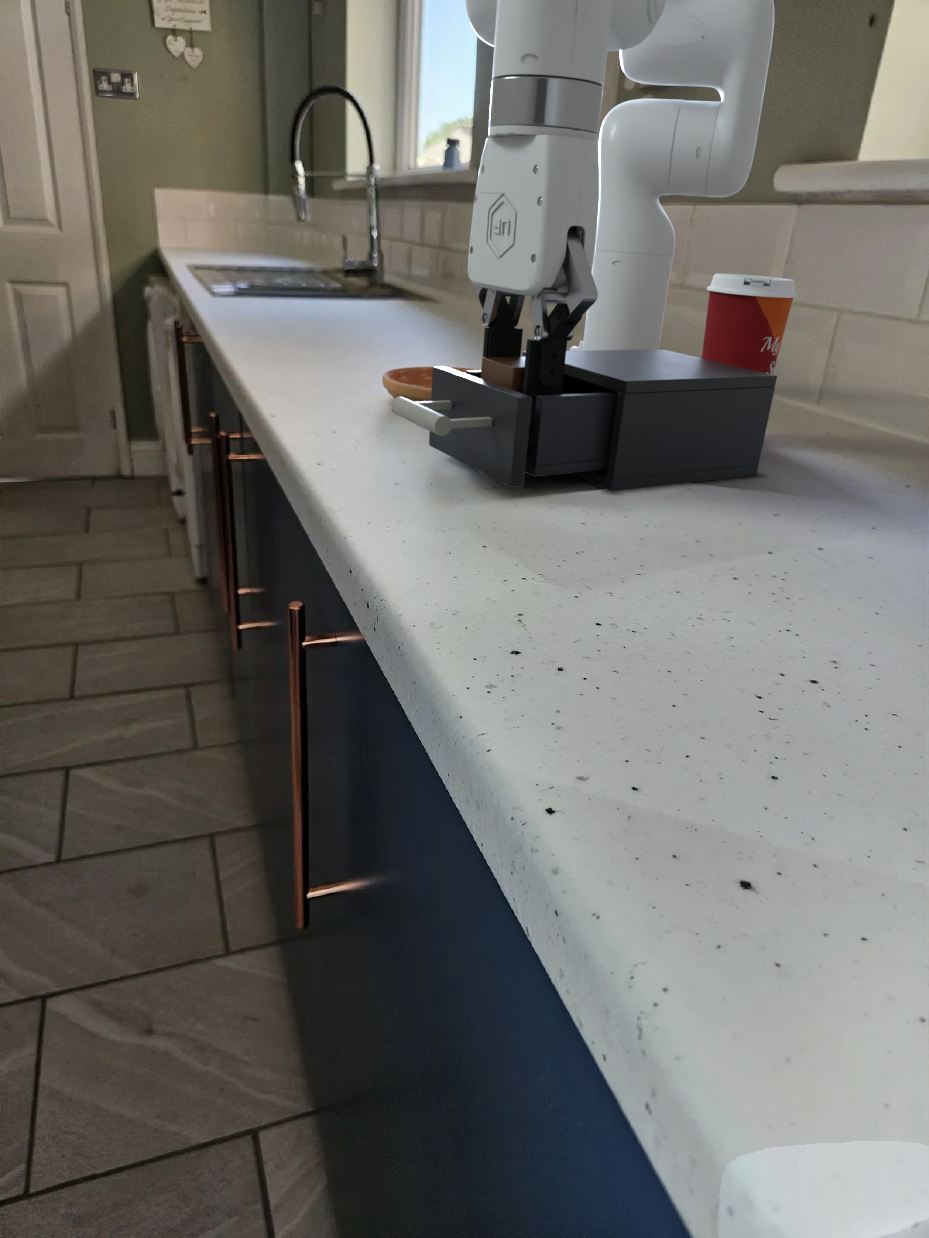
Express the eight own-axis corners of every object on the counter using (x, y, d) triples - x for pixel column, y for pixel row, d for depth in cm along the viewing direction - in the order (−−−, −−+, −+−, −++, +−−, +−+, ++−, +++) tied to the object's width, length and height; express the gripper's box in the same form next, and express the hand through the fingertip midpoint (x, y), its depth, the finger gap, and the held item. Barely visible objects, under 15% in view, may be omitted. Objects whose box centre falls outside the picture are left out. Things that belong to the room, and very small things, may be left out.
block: (524, 413, 71) (530, 356, 69) (556, 425, 67) (563, 366, 65) (477, 416, 69) (481, 357, 67) (508, 429, 65) (513, 367, 63)
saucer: (419, 386, 101) (420, 359, 100) (550, 404, 97) (553, 376, 95) (354, 408, 88) (354, 378, 87) (503, 431, 83) (506, 399, 82)
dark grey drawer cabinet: (611, 491, 67) (627, 381, 63) (513, 448, 77) (522, 351, 74) (756, 475, 74) (777, 375, 71) (649, 437, 85) (663, 349, 81)
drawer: (450, 494, 60) (456, 400, 57) (374, 449, 70) (376, 367, 67) (664, 471, 69) (677, 390, 67) (570, 435, 79) (578, 362, 76)
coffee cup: (770, 450, 83) (807, 282, 76) (683, 441, 84) (711, 275, 78) (761, 432, 90) (793, 277, 84) (680, 424, 91) (706, 271, 85)
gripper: (436, 116, 64) (425, 369, 72) (574, 102, 51) (542, 414, 59) (521, 127, 68) (502, 367, 75) (671, 116, 54) (629, 409, 62)
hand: (520, 385), depth 67 cm, fingers open, 5 cm apart
